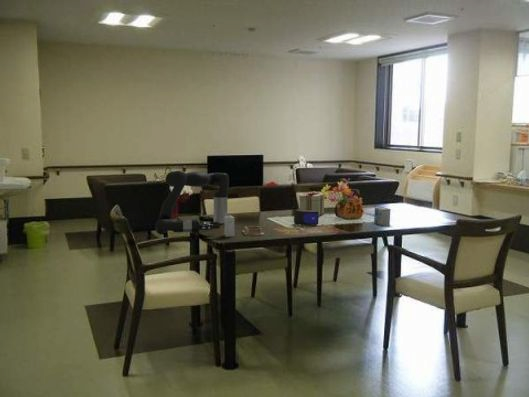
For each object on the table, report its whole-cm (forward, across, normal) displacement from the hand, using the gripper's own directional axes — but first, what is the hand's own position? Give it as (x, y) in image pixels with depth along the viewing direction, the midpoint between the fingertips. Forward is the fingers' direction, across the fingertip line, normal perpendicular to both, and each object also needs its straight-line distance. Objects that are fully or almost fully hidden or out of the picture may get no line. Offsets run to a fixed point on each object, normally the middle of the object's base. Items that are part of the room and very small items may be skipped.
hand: (218, 225), depth 309 cm
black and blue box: (+62, +29, +7) cm, 69 cm away
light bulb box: (+114, +24, +7) cm, 117 cm away
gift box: (+77, +68, +7) cm, 103 cm away
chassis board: (+21, +4, +6) cm, 23 cm away
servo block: (+6, 0, +6) cm, 9 cm away
